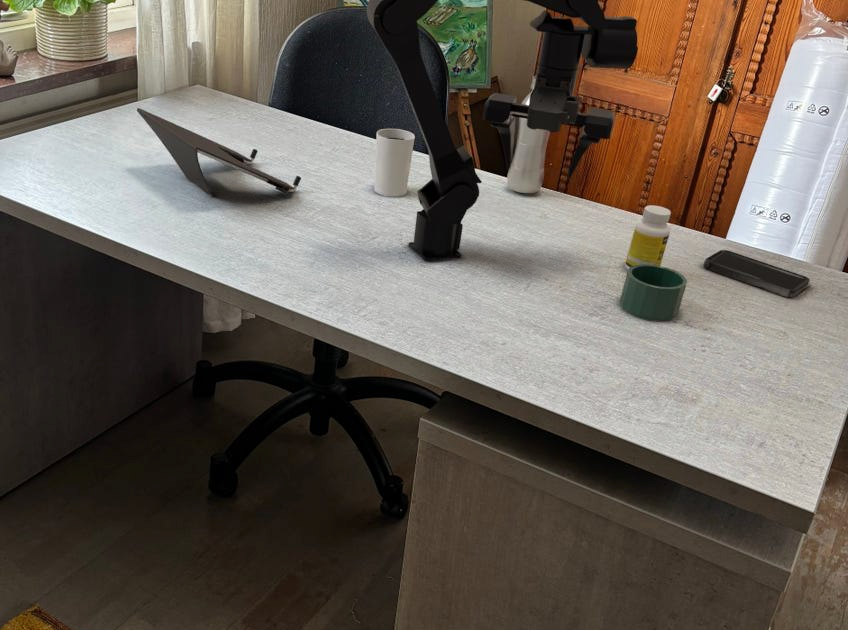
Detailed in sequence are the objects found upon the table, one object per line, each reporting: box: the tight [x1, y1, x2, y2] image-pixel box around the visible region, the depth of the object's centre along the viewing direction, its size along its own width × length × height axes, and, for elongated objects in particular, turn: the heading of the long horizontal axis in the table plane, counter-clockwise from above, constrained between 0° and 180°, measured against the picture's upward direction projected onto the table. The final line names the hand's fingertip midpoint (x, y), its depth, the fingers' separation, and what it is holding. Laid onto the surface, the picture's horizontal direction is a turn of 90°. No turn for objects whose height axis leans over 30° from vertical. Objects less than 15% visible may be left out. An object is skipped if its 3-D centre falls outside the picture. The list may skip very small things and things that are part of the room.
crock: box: [619, 264, 688, 322], centre depth 141 cm, size 8×8×5 cm
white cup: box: [373, 128, 416, 198], centre depth 172 cm, size 7×7×10 cm
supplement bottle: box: [624, 204, 672, 270], centre depth 151 cm, size 5×5×10 cm
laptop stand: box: [136, 107, 302, 197], centre depth 168 cm, size 23×23×9 cm
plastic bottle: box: [506, 75, 551, 194], centre depth 174 cm, size 6×7×20 cm
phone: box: [703, 249, 811, 298], centre depth 155 cm, size 8×1×15 cm
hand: (538, 173), depth 148 cm, fingers open, 9 cm apart
